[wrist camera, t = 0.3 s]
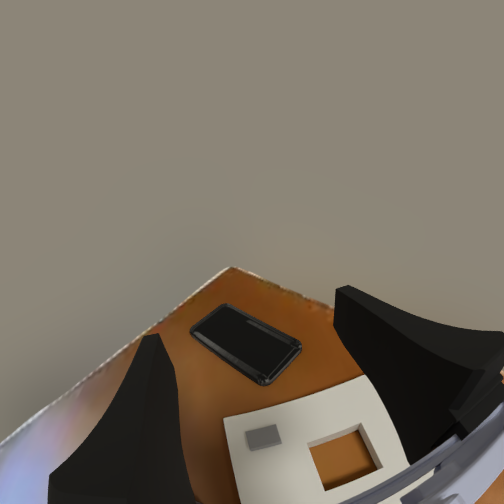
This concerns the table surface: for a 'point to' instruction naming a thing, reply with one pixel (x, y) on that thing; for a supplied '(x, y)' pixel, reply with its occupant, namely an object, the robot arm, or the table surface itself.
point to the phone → (246, 343)
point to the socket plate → (308, 435)
